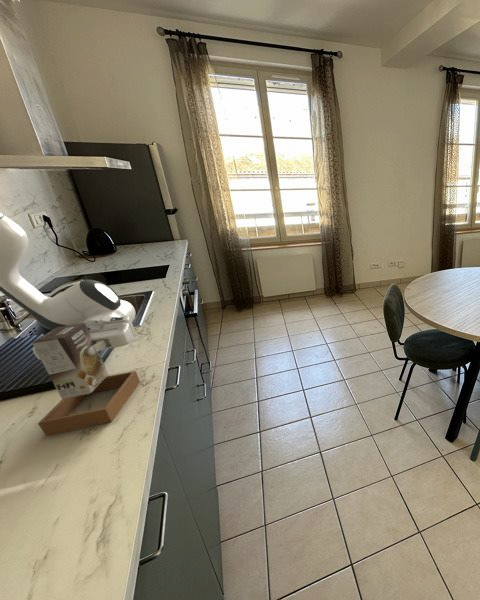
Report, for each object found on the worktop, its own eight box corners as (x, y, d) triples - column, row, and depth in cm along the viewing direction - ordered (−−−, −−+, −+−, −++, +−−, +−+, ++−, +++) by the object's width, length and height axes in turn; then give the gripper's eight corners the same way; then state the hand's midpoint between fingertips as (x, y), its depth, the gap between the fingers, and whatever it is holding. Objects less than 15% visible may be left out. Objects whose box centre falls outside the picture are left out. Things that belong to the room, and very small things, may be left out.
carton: (45, 436, 79) (37, 423, 77) (86, 392, 94) (80, 381, 93) (111, 421, 82) (105, 409, 81) (140, 381, 98) (135, 370, 96)
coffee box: (92, 393, 83) (63, 338, 76) (61, 399, 81) (29, 343, 75) (109, 373, 91) (85, 321, 85) (82, 378, 89) (55, 326, 83)
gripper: (48, 328, 90) (10, 353, 77) (135, 316, 95) (111, 337, 83) (59, 348, 92) (23, 376, 80) (142, 335, 97) (121, 359, 85)
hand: (69, 356), depth 81 cm, fingers closed on coffee box, 6 cm apart
